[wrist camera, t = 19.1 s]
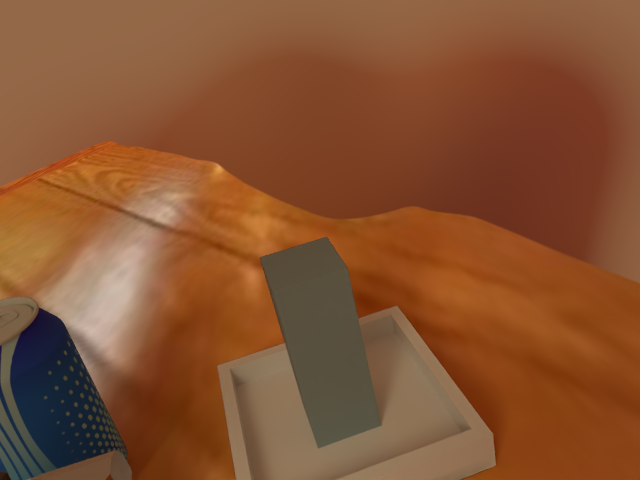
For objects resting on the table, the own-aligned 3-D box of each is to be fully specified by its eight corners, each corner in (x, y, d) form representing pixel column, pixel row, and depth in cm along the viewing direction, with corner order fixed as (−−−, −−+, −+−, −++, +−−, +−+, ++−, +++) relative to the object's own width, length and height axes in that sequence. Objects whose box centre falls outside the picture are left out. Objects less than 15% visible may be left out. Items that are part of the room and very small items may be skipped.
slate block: (318, 448, 43) (272, 291, 36) (302, 404, 47) (259, 257, 41) (381, 425, 43) (347, 267, 37) (360, 384, 48) (326, 236, 42)
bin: (256, 558, 37) (244, 527, 36) (226, 391, 52) (217, 365, 51) (496, 465, 39) (493, 434, 38) (401, 331, 54) (397, 305, 53)
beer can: (125, 519, 42) (30, 345, 35) (10, 551, 42) (-110, 382, 34) (139, 435, 49) (64, 277, 42) (42, 461, 49) (-51, 307, 42)
